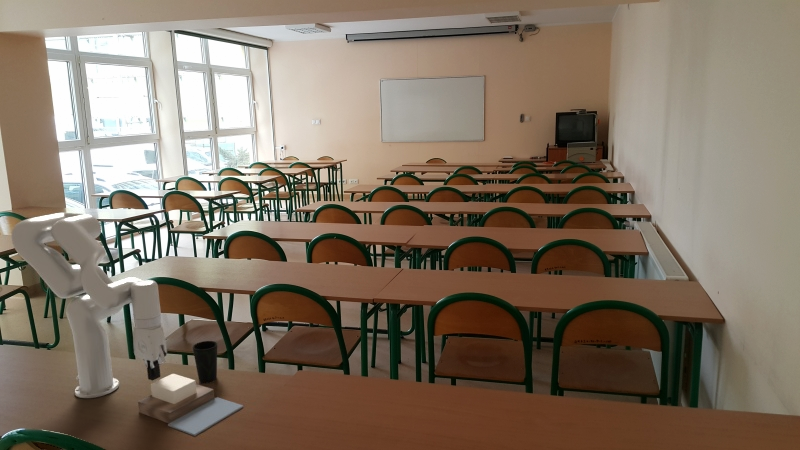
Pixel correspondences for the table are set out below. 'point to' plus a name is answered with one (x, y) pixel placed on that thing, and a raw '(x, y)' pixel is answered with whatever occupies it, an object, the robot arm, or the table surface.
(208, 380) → the cup
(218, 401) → the mat
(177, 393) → the cream rectangular block
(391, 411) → the table surface
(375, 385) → the table surface
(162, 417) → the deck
